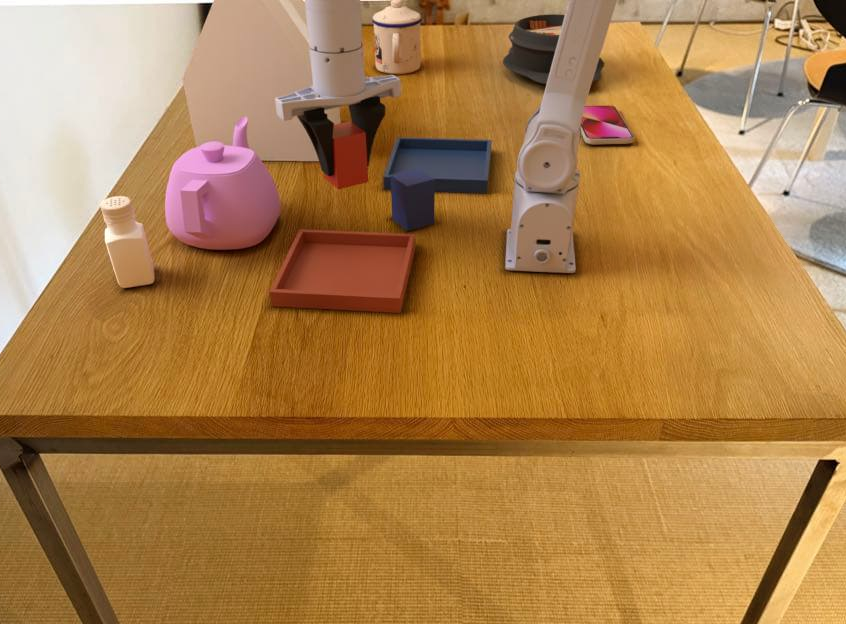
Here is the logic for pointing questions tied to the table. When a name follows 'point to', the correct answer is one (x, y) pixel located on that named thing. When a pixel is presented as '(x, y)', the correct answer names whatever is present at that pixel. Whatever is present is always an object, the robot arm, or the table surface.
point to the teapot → (221, 195)
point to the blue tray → (443, 162)
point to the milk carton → (252, 76)
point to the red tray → (345, 271)
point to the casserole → (537, 47)
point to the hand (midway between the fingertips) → (345, 168)
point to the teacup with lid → (397, 39)
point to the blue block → (413, 199)
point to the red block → (348, 156)
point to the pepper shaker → (126, 243)
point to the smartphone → (604, 126)
